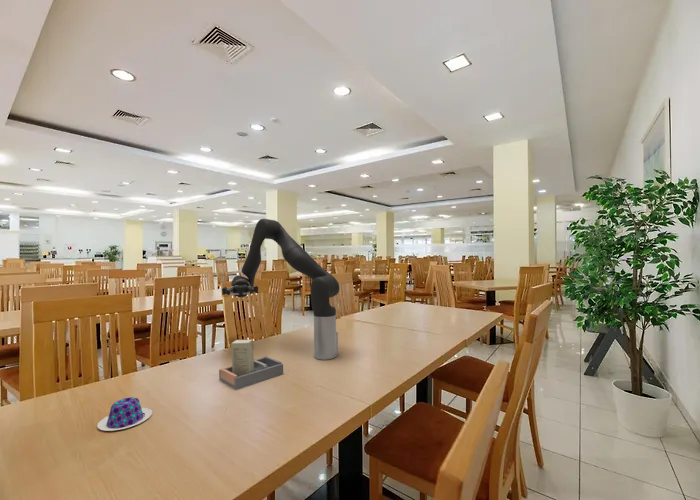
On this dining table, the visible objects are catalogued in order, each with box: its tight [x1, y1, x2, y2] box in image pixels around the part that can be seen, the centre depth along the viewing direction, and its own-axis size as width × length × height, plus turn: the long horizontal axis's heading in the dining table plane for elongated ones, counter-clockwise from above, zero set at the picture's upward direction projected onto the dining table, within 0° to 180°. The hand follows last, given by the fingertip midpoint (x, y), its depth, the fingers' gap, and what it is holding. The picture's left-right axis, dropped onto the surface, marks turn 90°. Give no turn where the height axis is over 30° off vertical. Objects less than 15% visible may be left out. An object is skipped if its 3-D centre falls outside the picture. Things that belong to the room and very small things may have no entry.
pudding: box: [96, 396, 153, 432], centre depth 87 cm, size 12×12×5 cm
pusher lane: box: [218, 356, 284, 390], centre depth 116 cm, size 18×12×4 cm, turn 136°
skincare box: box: [230, 339, 255, 377], centre depth 114 cm, size 6×4×12 cm
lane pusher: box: [254, 358, 267, 371], centre depth 118 cm, size 1×9×3 cm, turn 46°
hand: (239, 292), depth 132 cm, fingers open, 8 cm apart
